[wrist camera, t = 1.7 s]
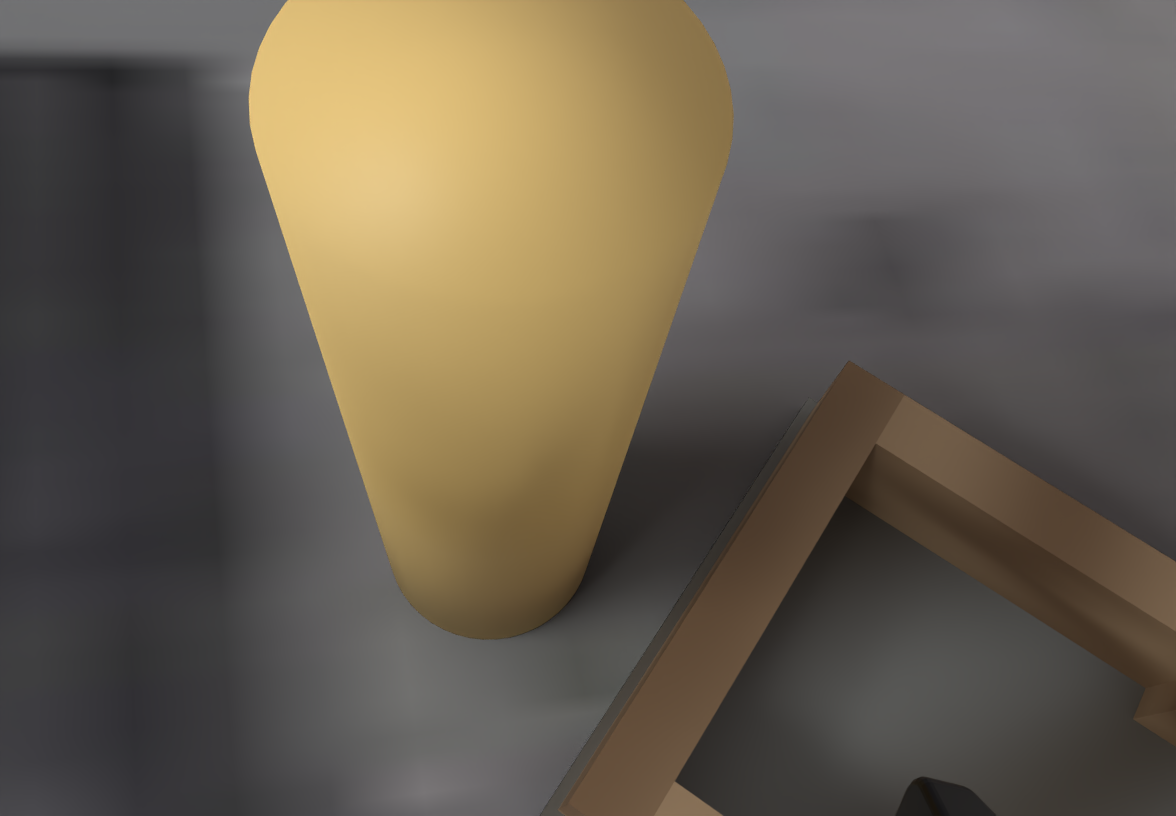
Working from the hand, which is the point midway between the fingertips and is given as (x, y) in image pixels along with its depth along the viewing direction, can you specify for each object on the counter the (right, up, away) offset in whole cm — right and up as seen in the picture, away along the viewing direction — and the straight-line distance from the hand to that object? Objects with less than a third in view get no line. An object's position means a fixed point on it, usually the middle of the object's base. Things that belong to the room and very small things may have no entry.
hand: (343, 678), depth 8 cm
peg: (0, 0, +12) cm, 12 cm away
